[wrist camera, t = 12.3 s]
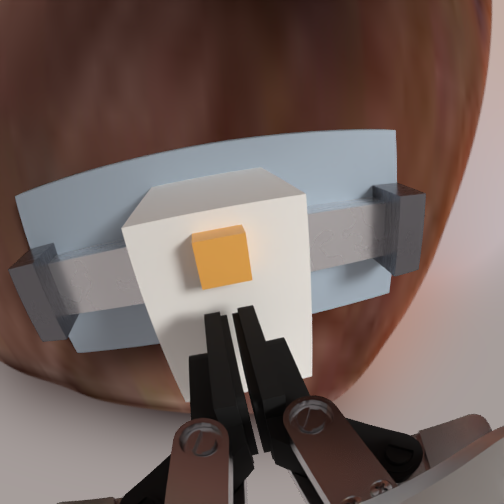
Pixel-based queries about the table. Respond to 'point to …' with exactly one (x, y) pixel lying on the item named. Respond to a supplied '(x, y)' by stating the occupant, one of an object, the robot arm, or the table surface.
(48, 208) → the board
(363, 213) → the rail
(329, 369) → the table surface
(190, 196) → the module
